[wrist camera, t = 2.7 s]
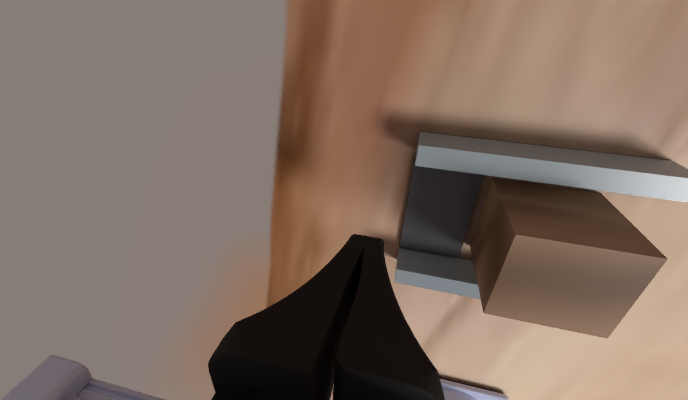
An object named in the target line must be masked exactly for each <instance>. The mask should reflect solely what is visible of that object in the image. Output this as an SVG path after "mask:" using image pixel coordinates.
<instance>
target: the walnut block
mask: <svg viewBox="0 0 688 400" xmlns="http://www.w3.org/2000/svg"><path fill="white" fill-rule="evenodd" d="M470 247H471V252H472V257H473V262H474V267H475V272H476V277H477V283H478V288H479V293H480V298H481V303H482V308H483V313H486V314H491V315H496V316H501V317H505V318H510V319H515V320H520V321H525V322H530V323H535V324H540V325H544V326H549V327H554V328H559V329H564V330H569V331H574V332H579V333H584V334H588V335H593V336H598V337H603V338H608V337H609V336H610V334H611V333H612V332H613V331H614V329H615V328H616V327H617V325H618V324H619V323H620V321H621V320H622V319H623V317H624V316H625V315H626V313H627V312H628V311H629V309H630V308H631V307H632V305H633V304H634V303H635V301H636V300H637V299H638V298H639V296H640V295H641V294H642V292H643V291H644V290H645V288H646V287H647V286H648V284H649V283H650V282H651V280H652V279H653V278H654V276H655V275H656V274H657V272H658V271H659V270H660V269H661V267H662V266H663V265H664V263H665V262H666V261H667V258H666V257H665V256H664V255H663V254H662V253H661V252H660V251H659V250H658V249H657V248H656V247H655V246H654V245H653V244H652V243H651V242H650V241H649V240H648V239H647V238H646V237H645V236H644V235H643V234H642V233H641V232H640V231H639V230H638V229H637V228H636V227H635V226H634V225H633V224H632V223H631V222H630V221H629V220H627V219H626V218H625V217H624V216H623V215H622V214H621V213H620V212H619V211H618V210H617V209H616V208H615V207H614V206H613V205H612V204H611V203H610V202H609V201H608V200H607V199H606V198H605V197H604V196H603V195H602V194H601V193H596V192H588V191H581V190H574V189H566V188H559V187H551V186H544V185H536V184H529V183H522V182H514V181H507V180H499V179H492V181H491V184H490V187H489V190H488V193H487V196H486V199H485V202H484V205H483V208H482V211H481V214H480V217H479V221H478V224H477V227H476V230H475V233H474V236H473V239H472V242H471V245H470Z"/></svg>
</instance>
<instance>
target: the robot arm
mask: <svg viewBox="0 0 688 400" xmlns="http://www.w3.org/2000/svg"><path fill="white" fill-rule="evenodd" d="M208 367H209V373H210V376H211V379H212V382H213V385H214V389H215V392H216V393H215V394H214V396H213V398H212V400H330V397H331V392H332V388H333V383H334V390H333V400H509V398H508V396H506V395H505V394H501V393H497V392H493V391H489V390H485V389H481V388H477V387H473V386H469V385H464V384H460V383H456V382H452V381H448V380H444V379H440V378H439V375H438V371H437V370H436V368H435V367H434V365H433V364H432V363H431V361H430V360H429V358H428V357H427V355H426V354H425V352H424V351H423V349H422V348H421V346H420V345H419V343H418V341H417V340H416V338H415V336H414V335H413V333H412V331H411V329H410V327H409V325H408V324H407V322H406V320H405V318H404V316H403V314H402V311H401V309H400V307H399V305H398V302H397V300H396V297H395V295H394V292H393V289H392V286H391V283H390V279H389V276H388V272H387V268H386V263H385V257H384V241H383V240H382V239H380V238H374V237H368V236H362V235H357V234H353V235H352V236H351V237H350V238H349V240H348V241H347V242H346V244H345V245H344V246H343V247H342V249H341V250H340V251H339V252H338V253H337V254H336V255H335V256H334V258H333V259H332V260H331V261H330V262H329V263H328V264H327V265H326V266H325V267H324V268H323V269H322V270H320V271H319V272H318V273H317V274H316V275H315V276H314V277H313V278H311V279H310V280H309V281H308V282H306V283H305V284H304V285H303V286H301V287H300V288H298V289H297V290H296V291H294V292H293V293H291V294H290V295H288V296H287V297H285V298H284V299H282V300H280V301H279V302H277V303H275V304H273V305H271V306H270V307H268V308H266V309H264V310H262V311H260V312H259V313H256V314H254V315H252V316H250V317H247V318H245V319H243V320H241V321H238V322H236V323H235V324H234V325H233V327H232V328H231V329H230V331H229V332H228V333H227V334H226V335H225V337H224V338H223V339H222V341H221V342H220V344H219V346H218V347H217V349H216V350H215V352H214V353H213V355H212V357H211V358H210V360H209V363H208ZM1 400H164V399H161V398H158V397H154V396H151V395H148V394H144V393H141V392H137V391H134V390H131V389H127V388H124V387H120V386H117V385H113V384H110V383H107V382H104V381H100V380H96V379H93V378H92V376H91V374H90V372H89V370H88V369H87V368H86V367H85V366H84V365H82V364H81V363H79V362H76V361H72V360H69V359H66V358H62V357H59V356H55V355H51V356H49V357H48V358H47V359H46V360H45V361H43V362H42V363H41V364H40V365H39V366H38V367H37V368H36V369H35V370H33V371H32V372H31V373H30V374H29V375H28V376H27V377H26V378H25V379H24V380H22V381H21V382H20V383H19V384H18V385H17V386H16V387H14V388H13V389H12V390H11V391H10V392H9V393H8V394H7V395H6V396H5V397H3V398H2V399H1Z"/></svg>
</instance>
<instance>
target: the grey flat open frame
mask: <svg viewBox="0 0 688 400" xmlns="http://www.w3.org/2000/svg"><path fill="white" fill-rule="evenodd" d="M484 175H488V176H495V177H503V178H510V179H517V180H525V181H532V182H540V183H547V184H555V185H562V186H570V187H577V188H585V189H592V190H600V191H607V192H614V193H622V194H629V195H637V196H644V197H652V198H659V199H667V200H674V201H682V202H688V169H686V168H685V167H683V166H681V165H679V164H678V163H676V162H674V161H669V160H660V159H652V158H643V157H634V156H626V155H617V154H608V153H600V152H591V151H582V150H574V149H565V148H556V147H548V146H539V145H530V144H522V143H513V142H504V141H496V140H487V139H479V138H470V137H461V136H453V135H444V134H435V133H427V132H420V133H419V138H418V144H417V149H416V155H415V161H414V166H413V172H412V178H411V183H410V189H409V195H408V200H407V206H406V211H405V217H404V223H403V228H402V234H401V240H400V245H399V247H402V248H399V251H398V257H397V263H396V272H395V280H394V282H396V283H401V284H406V285H412V286H417V287H422V288H427V289H432V290H437V291H442V292H447V293H452V294H457V295H462V296H467V297H472V298H477V299H481V298H480V293H479V288H478V283H477V277H476V272H475V267H474V262H473V261H472V260H466V259H460V258H459V254H460V251H461V248H462V245H463V241H464V238H465V235H466V232H467V228H468V225H469V222H470V219H471V216H472V212H473V209H474V206H475V203H476V199H477V196H478V193H479V190H480V186H481V183H482V180H483V177H484ZM405 248H408V249H405ZM410 249H413V250H410ZM416 250H419V251H416ZM421 251H425V252H421ZM427 252H430V253H427ZM433 253H436V254H433ZM438 254H441V255H438ZM444 255H447V256H444ZM449 256H453V257H449ZM455 257H458V258H455Z"/></svg>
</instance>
